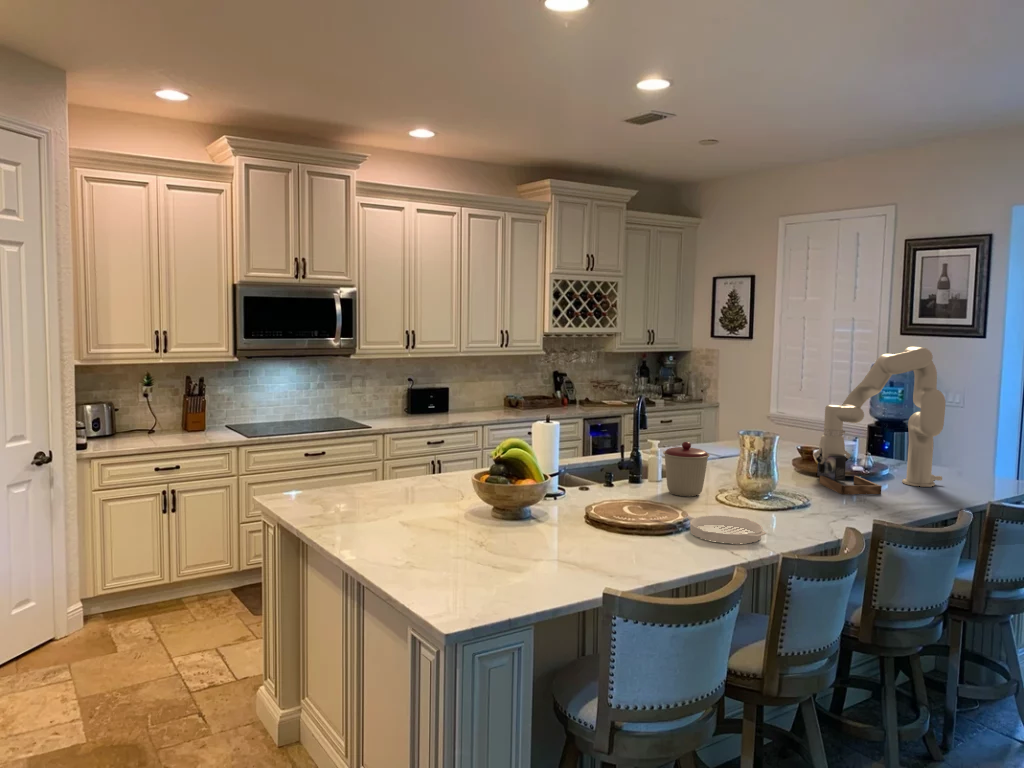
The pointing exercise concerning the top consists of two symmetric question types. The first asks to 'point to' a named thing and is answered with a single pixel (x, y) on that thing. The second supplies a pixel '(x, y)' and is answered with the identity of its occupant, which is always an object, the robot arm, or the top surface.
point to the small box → (833, 468)
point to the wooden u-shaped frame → (852, 486)
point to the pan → (726, 522)
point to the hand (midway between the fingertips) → (830, 472)
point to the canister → (685, 469)
